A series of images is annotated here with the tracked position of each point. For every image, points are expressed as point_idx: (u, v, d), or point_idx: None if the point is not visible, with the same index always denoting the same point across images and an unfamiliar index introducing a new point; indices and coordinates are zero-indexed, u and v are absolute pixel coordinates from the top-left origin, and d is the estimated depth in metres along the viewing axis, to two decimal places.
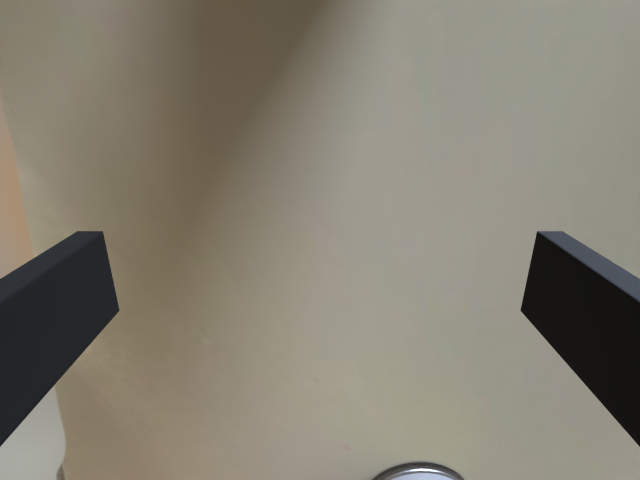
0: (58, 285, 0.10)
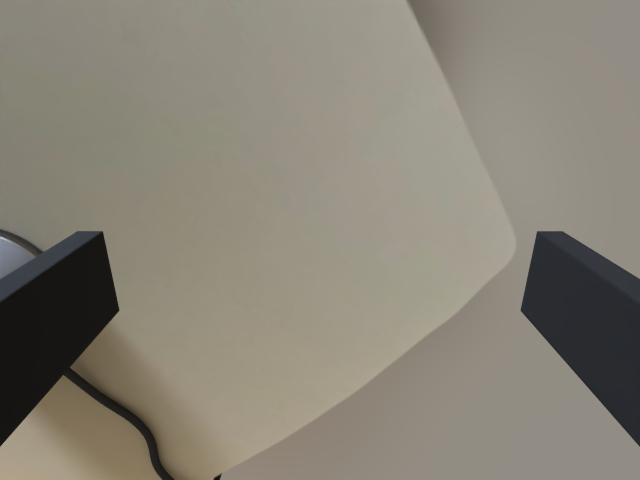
0: (58, 285, 0.10)
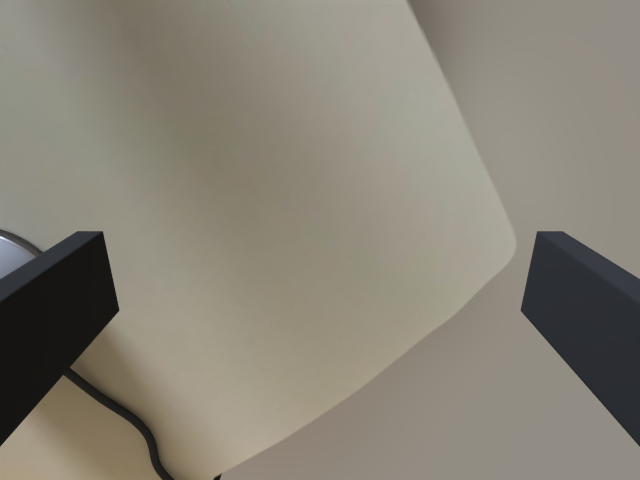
0: (58, 285, 0.10)
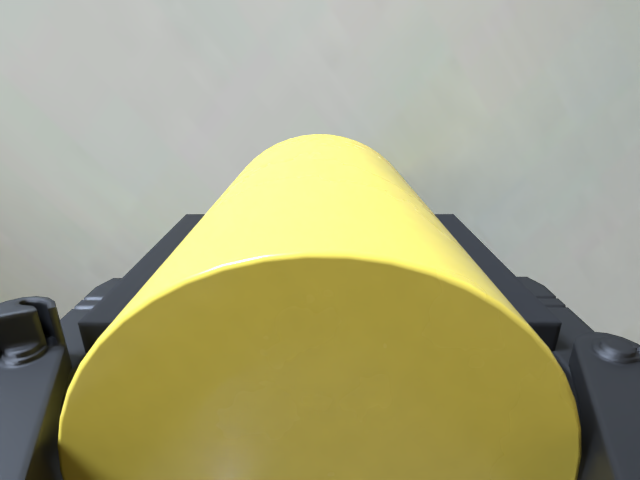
0: None
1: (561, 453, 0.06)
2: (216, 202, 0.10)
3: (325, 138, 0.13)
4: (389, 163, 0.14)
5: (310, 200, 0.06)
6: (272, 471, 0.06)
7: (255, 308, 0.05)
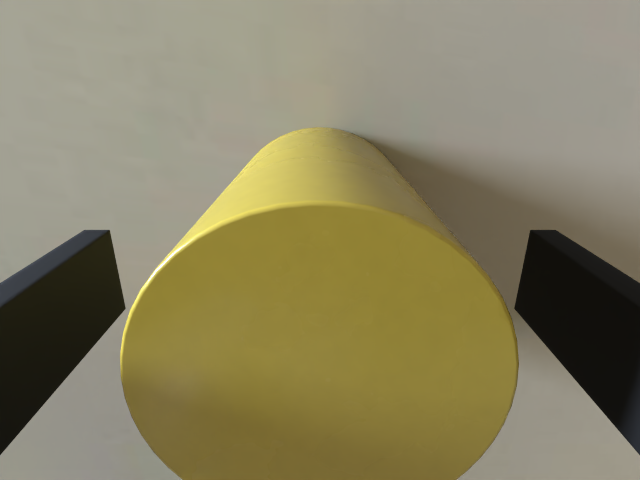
0: (67, 283, 0.10)
1: (503, 362, 0.07)
2: None
3: (324, 130, 0.15)
4: (381, 153, 0.16)
5: (312, 172, 0.08)
6: (283, 377, 0.07)
7: (272, 244, 0.06)
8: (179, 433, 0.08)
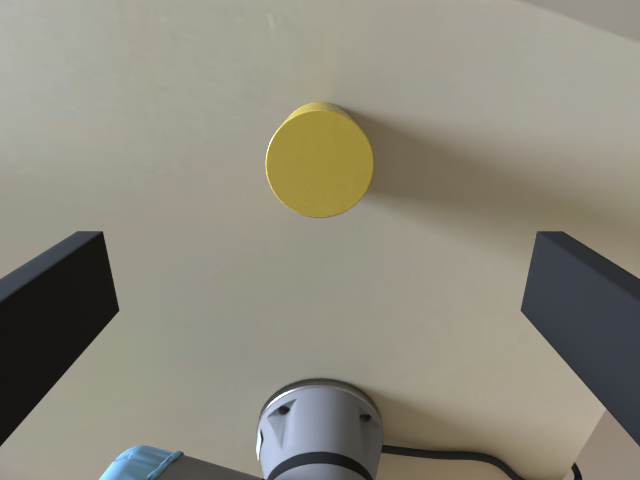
0: (58, 285, 0.10)
1: (369, 156, 0.27)
2: None
3: (321, 102, 0.35)
4: (347, 113, 0.36)
5: None
6: (310, 161, 0.28)
7: (308, 121, 0.27)
8: (280, 181, 0.28)
